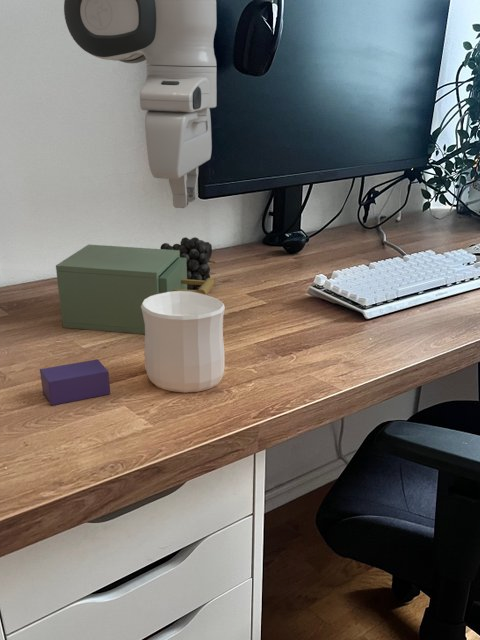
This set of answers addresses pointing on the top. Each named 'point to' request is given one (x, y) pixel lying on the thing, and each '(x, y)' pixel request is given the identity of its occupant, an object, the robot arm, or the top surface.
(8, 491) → the top surface
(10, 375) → the top surface
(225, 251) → the top surface
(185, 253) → the fruit
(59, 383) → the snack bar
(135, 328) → the cabinet
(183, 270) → the drawer
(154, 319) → the cup
